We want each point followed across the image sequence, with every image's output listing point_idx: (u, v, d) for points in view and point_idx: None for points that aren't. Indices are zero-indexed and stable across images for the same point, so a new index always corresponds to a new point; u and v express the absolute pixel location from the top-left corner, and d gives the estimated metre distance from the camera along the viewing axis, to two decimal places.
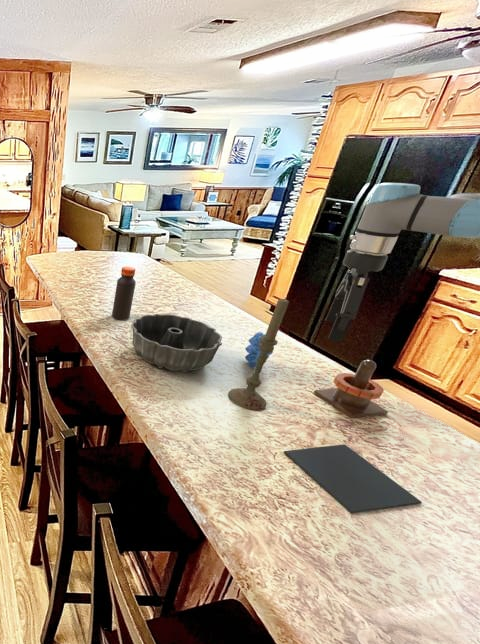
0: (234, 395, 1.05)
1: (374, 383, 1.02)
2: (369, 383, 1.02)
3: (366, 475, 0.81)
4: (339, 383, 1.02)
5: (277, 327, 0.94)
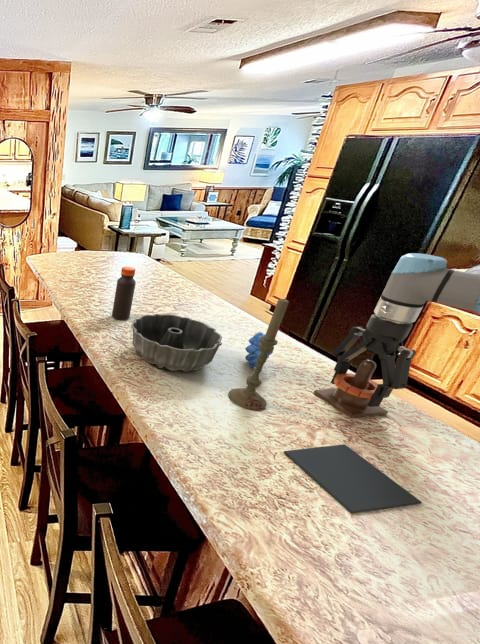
0: (234, 395, 1.05)
1: (374, 383, 1.02)
2: (369, 383, 1.02)
3: (366, 475, 0.81)
4: (339, 383, 1.02)
5: (276, 327, 0.94)
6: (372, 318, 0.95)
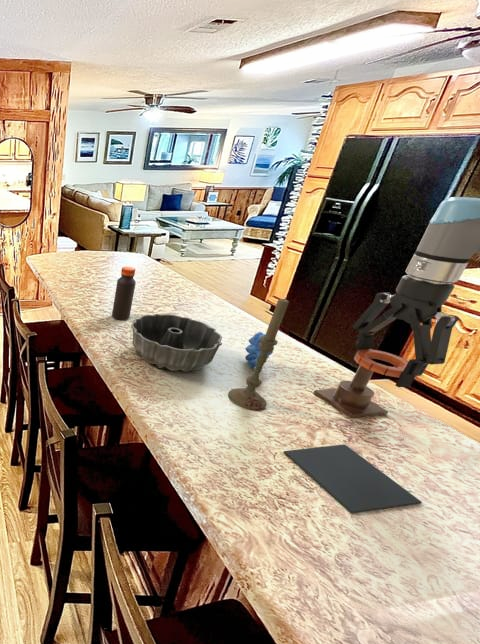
0: (234, 395, 1.05)
1: (403, 360, 0.85)
2: (397, 360, 0.86)
3: (366, 475, 0.81)
4: (361, 360, 0.86)
5: (277, 327, 0.94)
6: (403, 279, 0.79)
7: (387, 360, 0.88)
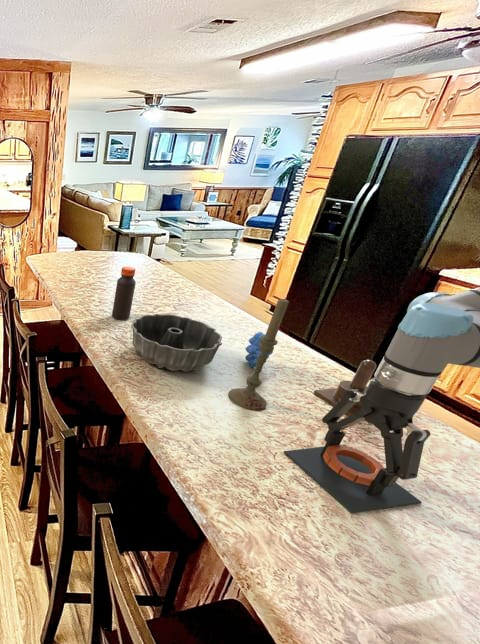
0: (234, 395, 1.05)
1: (375, 461, 0.80)
2: (368, 461, 0.80)
3: None
4: (330, 461, 0.80)
5: (276, 327, 0.94)
6: (372, 384, 0.73)
7: (358, 459, 0.82)
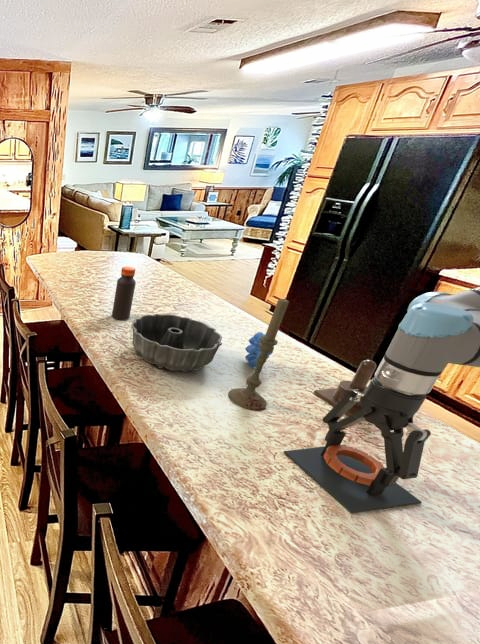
0: (234, 395, 1.05)
1: (375, 461, 0.80)
2: (369, 461, 0.80)
3: None
4: (330, 461, 0.80)
5: (276, 327, 0.94)
6: (372, 384, 0.73)
7: (358, 459, 0.82)
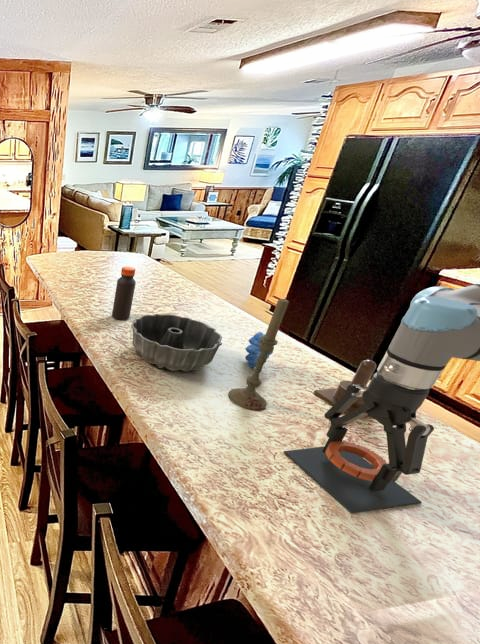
0: (234, 395, 1.05)
1: (377, 457, 0.79)
2: (371, 457, 0.80)
3: None
4: (332, 457, 0.79)
5: (277, 327, 0.94)
6: (375, 379, 0.72)
7: (361, 455, 0.81)
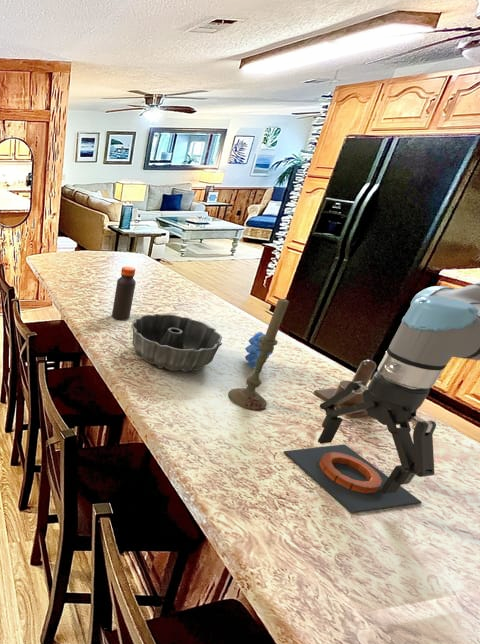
0: (234, 395, 1.05)
1: (370, 469, 0.81)
2: (364, 468, 0.81)
3: None
4: (326, 469, 0.81)
5: (277, 327, 0.94)
6: (375, 378, 0.72)
7: (354, 466, 0.83)
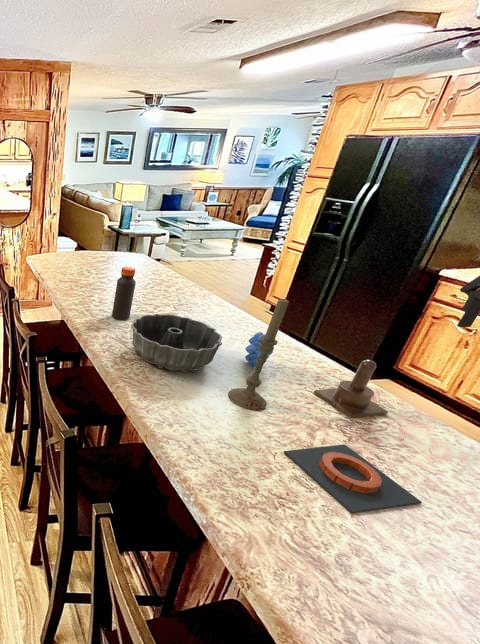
0: (234, 395, 1.05)
1: (370, 469, 0.81)
2: (364, 468, 0.81)
3: None
4: (326, 469, 0.81)
5: (277, 327, 0.94)
6: None
7: (354, 466, 0.83)
